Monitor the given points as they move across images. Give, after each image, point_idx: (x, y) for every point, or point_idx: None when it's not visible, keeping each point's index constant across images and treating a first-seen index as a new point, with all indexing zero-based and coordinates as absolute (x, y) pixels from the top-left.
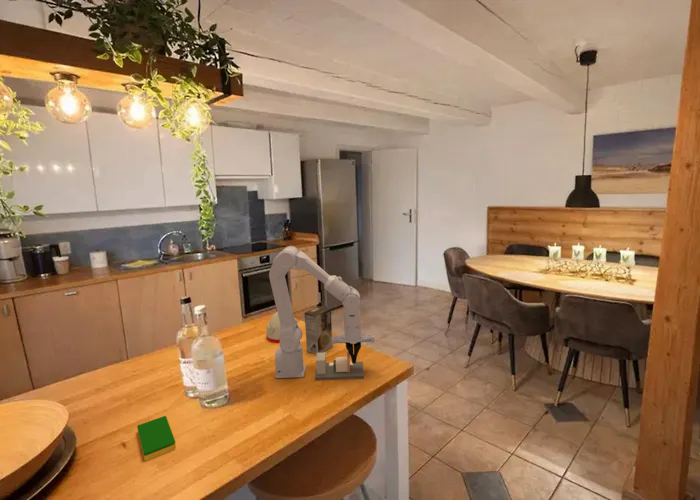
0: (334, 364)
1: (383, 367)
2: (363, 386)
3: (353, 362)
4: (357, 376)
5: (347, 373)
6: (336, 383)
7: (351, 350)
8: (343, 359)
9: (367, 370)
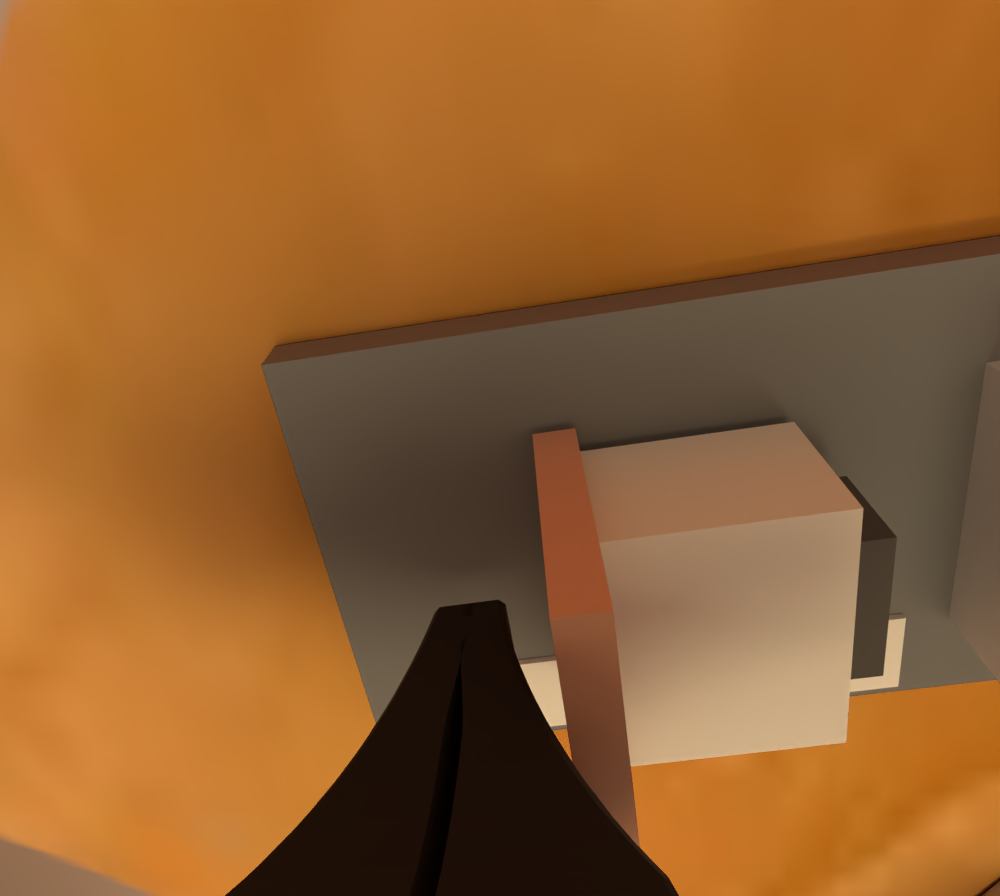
0: (868, 535)
1: (72, 662)
2: (218, 59)
3: (477, 612)
4: (383, 344)
5: (577, 412)
6: (758, 130)
7: (501, 835)
8: (692, 680)
9: (284, 576)
